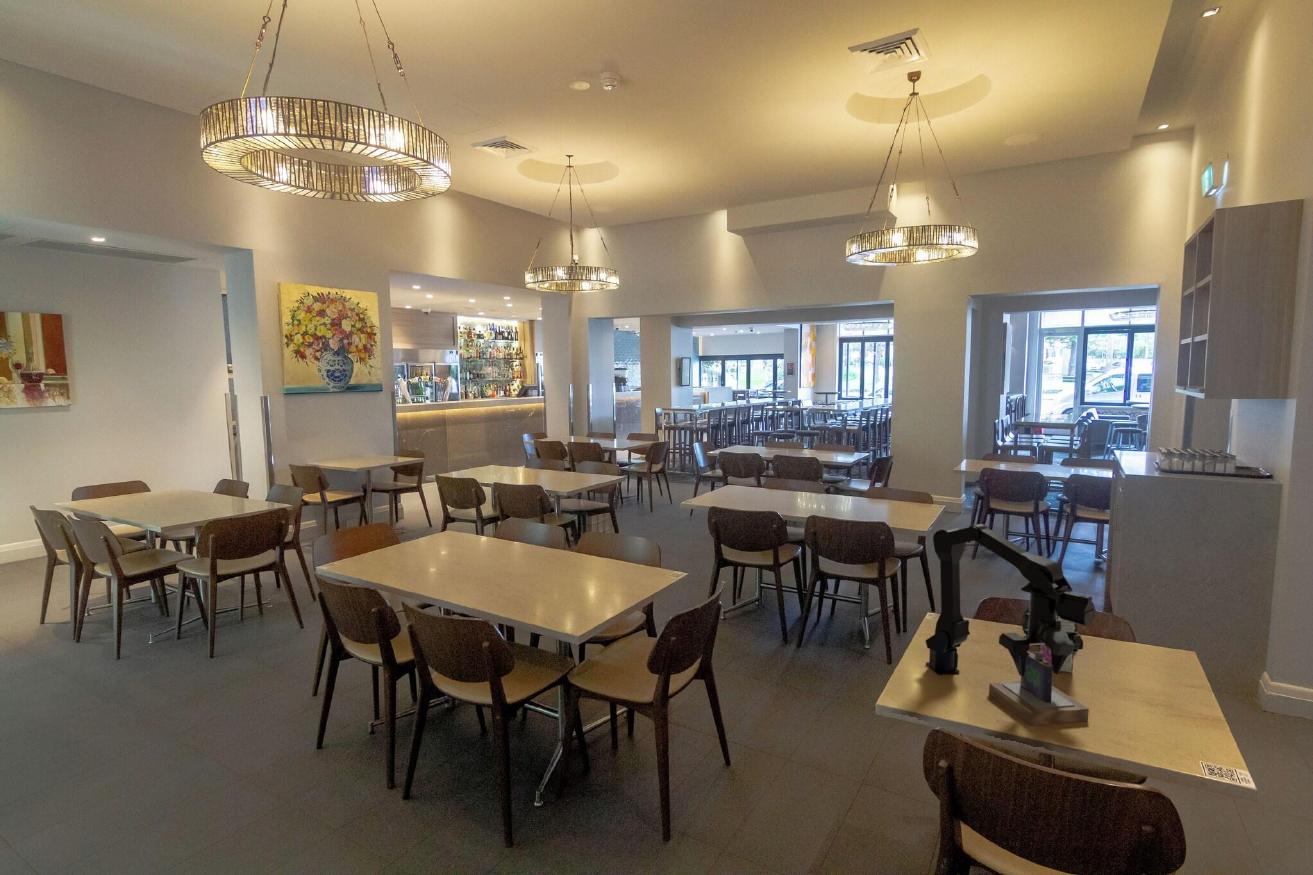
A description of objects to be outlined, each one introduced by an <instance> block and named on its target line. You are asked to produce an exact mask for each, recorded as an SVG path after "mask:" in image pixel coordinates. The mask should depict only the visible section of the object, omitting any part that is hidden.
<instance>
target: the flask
mask: <svg viewBox="0 0 1313 875" xmlns="http://www.w3.org/2000/svg"><path fill="white" fill-rule="evenodd" d="M1027 652H1028V653H1030V655H1028V656H1027V657H1026V663H1025V673H1024V676H1023V677H1022V676H1020V681H1021V683H1020V685H1021V687H1022V688H1023V689H1025V690H1027V691H1028V692H1029V693H1031V694H1033V695H1035V697H1038V699H1040V700H1041V701H1043V702H1046V703H1051V694H1052V686H1053V674H1054V673H1053V666H1052V665H1051V664H1050V663H1049V662H1048V661H1046V660H1044V657H1043V656H1042V653H1043V652H1040V651H1033V653H1032V652H1029V651H1027Z"/></svg>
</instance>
